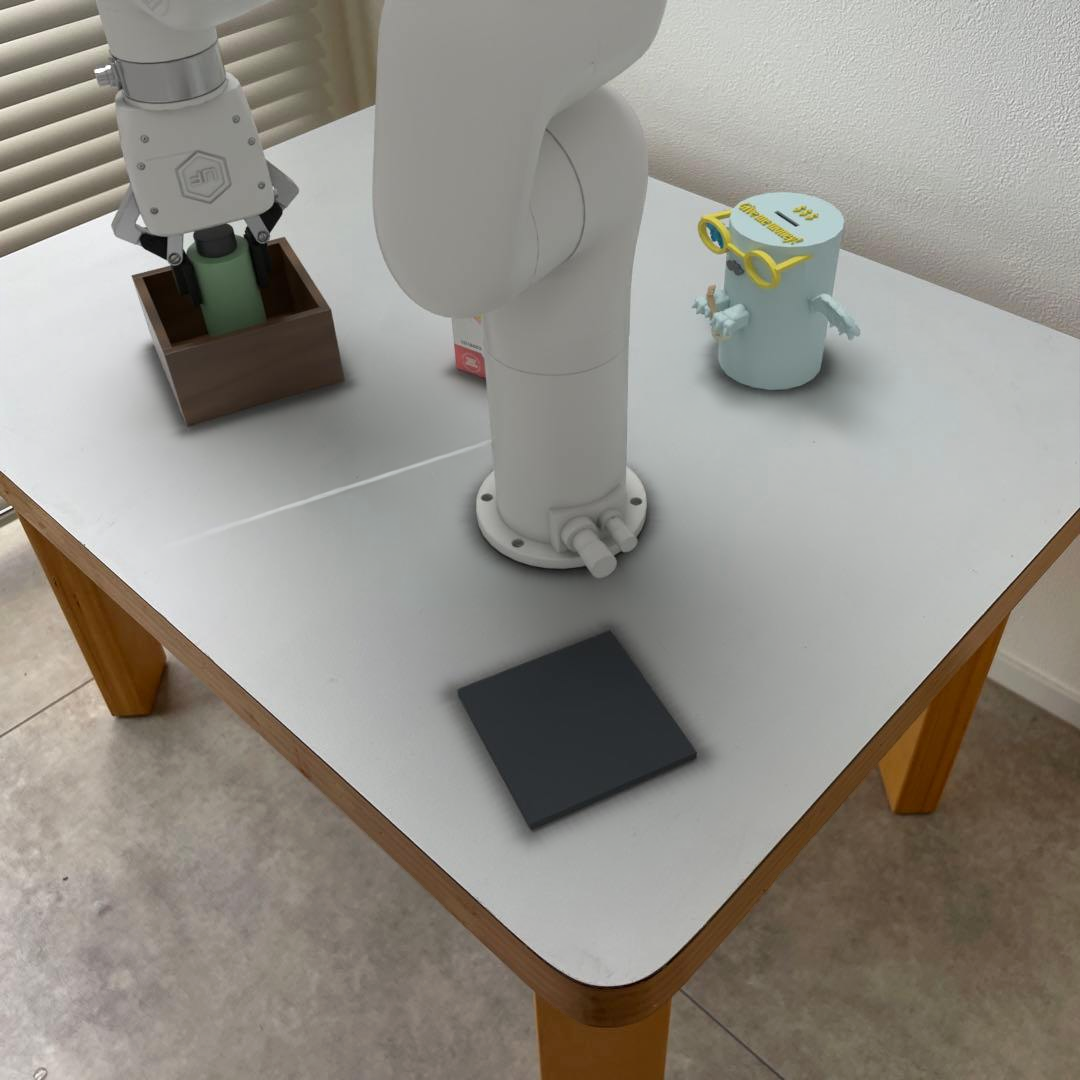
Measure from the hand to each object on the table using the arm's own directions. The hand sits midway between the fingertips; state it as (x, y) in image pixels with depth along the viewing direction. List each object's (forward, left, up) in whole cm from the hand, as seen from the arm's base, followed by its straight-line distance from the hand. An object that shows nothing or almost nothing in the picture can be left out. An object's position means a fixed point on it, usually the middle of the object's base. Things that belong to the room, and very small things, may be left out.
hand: (227, 288), depth 94 cm
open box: (0, 0, -8) cm, 8 cm away
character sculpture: (-21, -39, -8) cm, 45 cm away
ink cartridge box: (-12, -20, -8) cm, 25 cm away
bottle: (0, 0, -7) cm, 7 cm away
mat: (-48, -8, -8) cm, 49 cm away
